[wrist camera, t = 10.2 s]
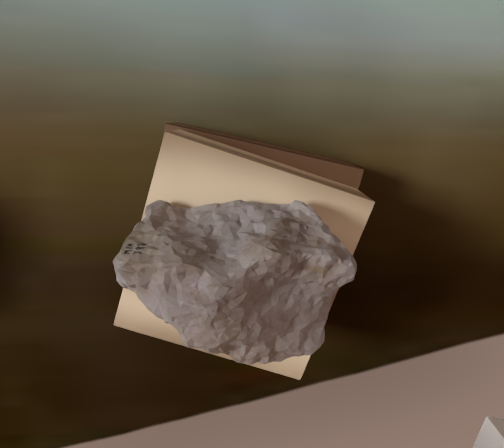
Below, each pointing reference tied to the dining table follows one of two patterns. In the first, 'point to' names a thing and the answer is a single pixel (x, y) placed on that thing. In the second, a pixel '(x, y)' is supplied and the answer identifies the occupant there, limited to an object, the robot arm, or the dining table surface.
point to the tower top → (247, 189)
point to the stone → (237, 275)
